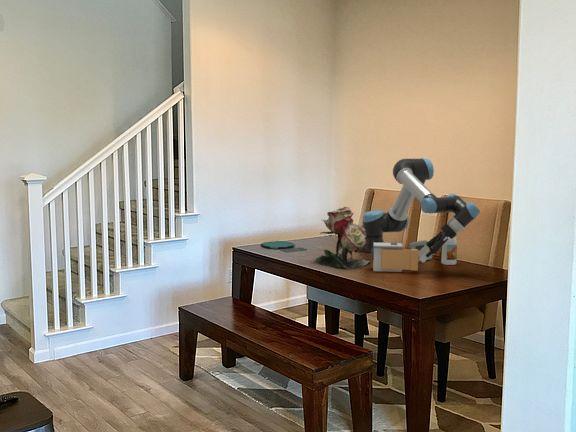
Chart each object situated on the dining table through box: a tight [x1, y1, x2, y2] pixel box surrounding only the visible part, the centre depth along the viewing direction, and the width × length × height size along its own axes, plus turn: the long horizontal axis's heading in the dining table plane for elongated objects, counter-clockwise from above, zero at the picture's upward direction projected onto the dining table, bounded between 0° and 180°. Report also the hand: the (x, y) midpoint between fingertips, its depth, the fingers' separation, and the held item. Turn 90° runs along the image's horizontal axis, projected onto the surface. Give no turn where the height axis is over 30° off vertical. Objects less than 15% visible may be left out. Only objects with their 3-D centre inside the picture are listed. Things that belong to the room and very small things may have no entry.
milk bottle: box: [440, 236, 458, 266], centre depth 318 cm, size 8×8×20 cm
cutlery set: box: [260, 240, 308, 253], centre depth 366 cm, size 20×30×2 cm, turn 33°
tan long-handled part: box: [382, 248, 419, 271], centre depth 297 cm, size 18×3×10 cm, turn 83°
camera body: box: [370, 241, 404, 273], centre depth 303 cm, size 15×11×14 cm
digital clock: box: [408, 239, 433, 264], centre depth 326 cm, size 16×9×11 cm, turn 122°
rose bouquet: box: [313, 206, 371, 270], centre depth 319 cm, size 26×29×30 cm
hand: (419, 258), depth 295 cm, fingers open, 13 cm apart
